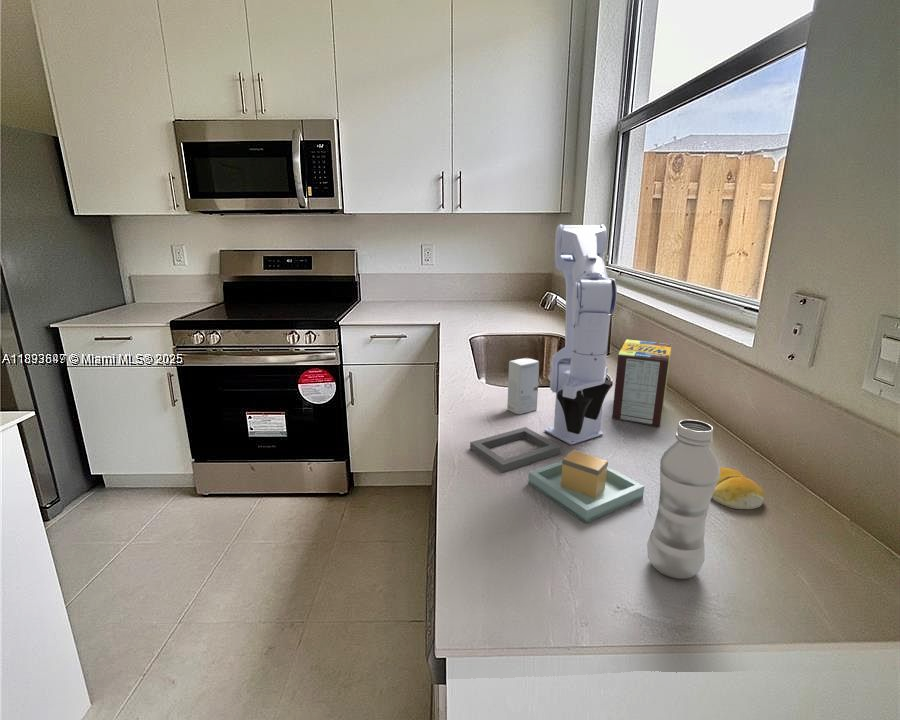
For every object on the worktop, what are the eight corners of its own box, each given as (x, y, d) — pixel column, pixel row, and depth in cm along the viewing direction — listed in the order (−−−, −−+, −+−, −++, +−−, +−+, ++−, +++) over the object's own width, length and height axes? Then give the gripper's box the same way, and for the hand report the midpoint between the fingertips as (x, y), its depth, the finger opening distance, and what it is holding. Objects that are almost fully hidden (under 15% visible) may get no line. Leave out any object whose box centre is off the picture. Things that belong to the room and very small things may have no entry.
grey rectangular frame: (525, 433, 100) (525, 426, 99) (560, 453, 91) (561, 446, 91) (470, 449, 93) (470, 442, 92) (502, 472, 84) (502, 464, 84)
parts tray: (582, 464, 87) (583, 453, 86) (642, 498, 76) (644, 486, 76) (528, 483, 80) (529, 472, 80) (585, 523, 70) (587, 510, 69)
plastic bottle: (635, 552, 64) (654, 415, 58) (683, 550, 64) (706, 414, 59) (660, 588, 57) (683, 438, 52) (712, 584, 58) (741, 436, 52)
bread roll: (732, 479, 82) (736, 459, 81) (772, 509, 74) (777, 486, 73) (688, 482, 81) (692, 461, 80) (723, 513, 73) (728, 490, 72)
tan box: (571, 475, 82) (573, 449, 80) (605, 487, 78) (608, 460, 77) (560, 485, 79) (562, 458, 77) (595, 498, 75) (598, 470, 74)
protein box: (663, 404, 116) (672, 343, 112) (660, 427, 103) (669, 359, 98) (619, 397, 120) (625, 338, 116) (610, 419, 107) (617, 353, 103)
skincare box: (518, 415, 109) (520, 365, 106) (506, 409, 113) (507, 360, 109) (538, 409, 112) (540, 361, 109) (525, 404, 116) (527, 356, 112)
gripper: (583, 339, 87) (578, 407, 91) (547, 356, 77) (543, 432, 80) (621, 345, 83) (614, 416, 87) (589, 363, 72) (582, 444, 76)
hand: (582, 425), depth 83 cm, fingers open, 7 cm apart
